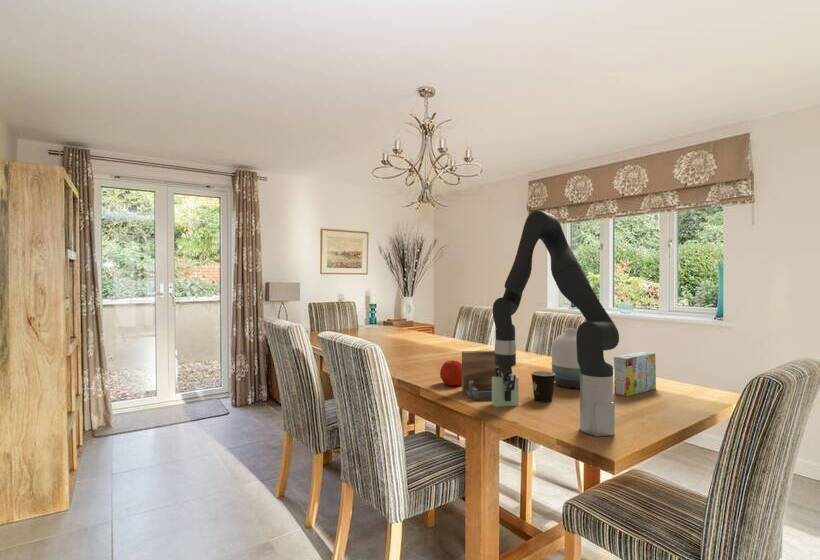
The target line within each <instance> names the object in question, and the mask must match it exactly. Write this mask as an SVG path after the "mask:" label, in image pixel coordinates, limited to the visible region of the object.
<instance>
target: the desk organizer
mask: <svg viewBox="0 0 820 560" xmlns="http://www.w3.org/2000/svg"><path fill="white" fill-rule="evenodd" d="M461 364H462V385H461V391H462V392H463V393H465V394H466V395H467V396H468V397H469V398H471V400H472V401H492V377H496V370H495V368H497V367H499V366H497V365H495V349H494V350H469V351H468V350H467V351H466V350H464V351H461Z"/></svg>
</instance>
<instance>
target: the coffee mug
mask: <svg viewBox="0 0 820 560" xmlns="http://www.w3.org/2000/svg"><path fill="white" fill-rule="evenodd" d="M554 380H555V373H552V371H547V370H534V371H531V381H532V382H531V383H532V390H533V399H534V401H536V402H538V401H539V402H540V403H551V402H552V401H553V395H554V386H555V381H554Z"/></svg>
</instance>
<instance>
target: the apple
mask: <svg viewBox="0 0 820 560" xmlns="http://www.w3.org/2000/svg"><path fill="white" fill-rule="evenodd" d="M439 377H440V379H441V381H442V382H443V383H444V384H445V385H447V386H450V387H460V386H462V362H460V361H458V360H447V361H445V362H444V363H443V364H442V366H441V368H440V371H439Z"/></svg>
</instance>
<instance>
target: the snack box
mask: <svg viewBox="0 0 820 560" xmlns="http://www.w3.org/2000/svg"><path fill="white" fill-rule="evenodd" d="M613 361H614V362H613V364H614V365H613V366H614V367H613V380H614V394H615V395H618V396H619V395H620V396H624V397H629V396H632V395H633V396H634V395H636V394H641V393H645V392H649V391H652V390H656V389H657V379H656V378H657V376H656V373H657V371H656V368H657V367H656V352H651V351H639V352H634V353H628V354H623V355H617V356H614V357H613Z"/></svg>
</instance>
